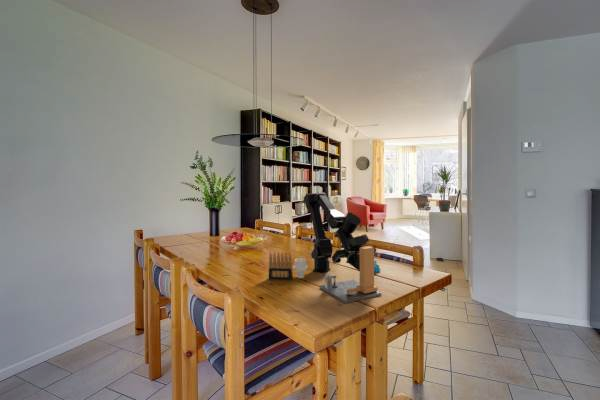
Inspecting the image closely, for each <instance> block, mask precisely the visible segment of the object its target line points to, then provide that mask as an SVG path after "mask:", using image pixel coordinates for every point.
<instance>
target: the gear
mask: <svg viewBox="0 0 600 400" xmlns="http://www.w3.org/2000/svg"><path fill="white" fill-rule="evenodd" d="M377 263H378V262H377V260H374V273H378V274H379V273H380V272H381V268H380V265H379V264H377Z"/></svg>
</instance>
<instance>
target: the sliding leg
mask: <svg viewBox="0 0 600 400" xmlns="http://www.w3.org/2000/svg"><path fill="white" fill-rule="evenodd" d="M370 246H371V245H366V246H362V247H360V271H359V282H360V285H357V288H353V289H348V290H347V293H348V294H350V293H353V292H358V291H361V292H363V293H365V294H366V293H370V292H375V291H378V286H376V285H375V271H374V270H375V269H374V261H375V253H374V247H375V246H374V247H370Z"/></svg>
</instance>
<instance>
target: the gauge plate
mask: <svg viewBox="0 0 600 400" xmlns="http://www.w3.org/2000/svg"><path fill="white" fill-rule="evenodd" d="M332 279H333V282H332ZM336 279H337V274H326V275H324V284H322V285H320V286H319V289H320V290H323V291H324V292H325V293H327V294H328V295H330V296H332V297H334V298H335V299H336V300H339V301H340V302H341V303H343V304H350V303H355V302H358V301H363V300H368V299H371V298H375V297H379V296H382V292H381V291H378V290H377V291H375V292H370V293H366V294H365V293H363V292H361V291H358V292H353V293H350V294H348V293H347V290H348V289H353V288H357V285H360V281H358V280H355V279H349V280H344V281H336Z"/></svg>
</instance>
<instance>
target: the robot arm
mask: <svg viewBox="0 0 600 400" xmlns="http://www.w3.org/2000/svg"><path fill="white" fill-rule="evenodd" d="M303 202H304V205H305V208H306V209H307V210H308V212H310V218H311V222H312V228H313V231H314V232H313V233H314V236H315V241H314V243H313V250H312V251H311V253H310V255H311V259H313V260H314V264H313V265H314V268H313V269H312V271H314V272H319V273H326V272H328V271H331V268H330V261H329V259H331V260H332V263H333V264H339V263H341V261H342V259H344V258H346V261H345V263H346V264H349V265H350V266H352V267H353V268H355V269H357V271H358V272H360V247H363V245H367V243H368V242H370V241H369V236H367V234H366V233H365V234H362V235H359V236H355V237H354V236H353V233H355V232H356V230H357V228H358V227H359V226H360V224H361V222H362V221H361V217H359V216H358V215H356V214H354V213H353V212H352V211H350V212H347V213H346V215H345V214H344V213H343V212H341V211H339V210H337V209H336V207H335V206H334V204H332V202H331V200H330V199H329V198H328V196H327V193H326V192H316V193H314V192H313V193H306V194H305V195H304V196H303ZM320 208H321V209H322V211H323V212H324V213H325V215H326V217H327V220H326V221H327V224H328V226H329V227H330V229H331V230H335V229H336V231H335V234H334V238H338V240H339V241H340V244H341V245H340V248H341V249H337V250H335V251H334V253H333V245H332V240H331V239H330V238H328V237H327V236H326V232H325V228H324V224H323V219H322V218H323V217H322V214H321V210H320ZM369 246H370V247H374V254H376V252H377V248H376V247H375V246H374V245H369Z"/></svg>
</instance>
